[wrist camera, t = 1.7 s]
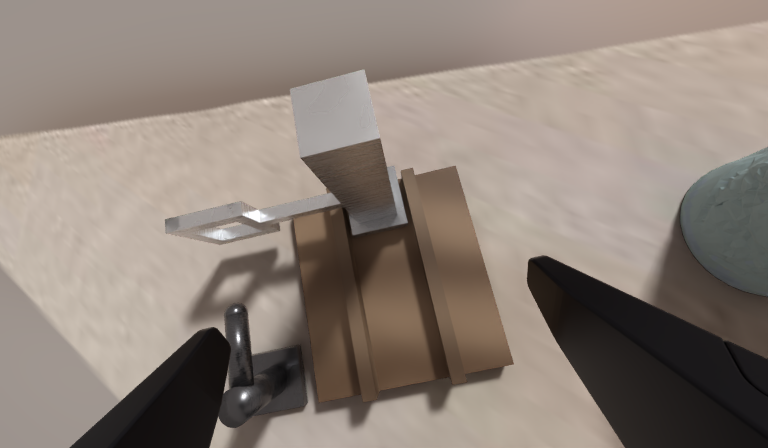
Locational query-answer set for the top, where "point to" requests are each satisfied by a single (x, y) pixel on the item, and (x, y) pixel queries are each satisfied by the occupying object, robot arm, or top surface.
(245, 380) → the keeper hook
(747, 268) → the green embossed cup
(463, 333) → the track board
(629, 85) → the top surface
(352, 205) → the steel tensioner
